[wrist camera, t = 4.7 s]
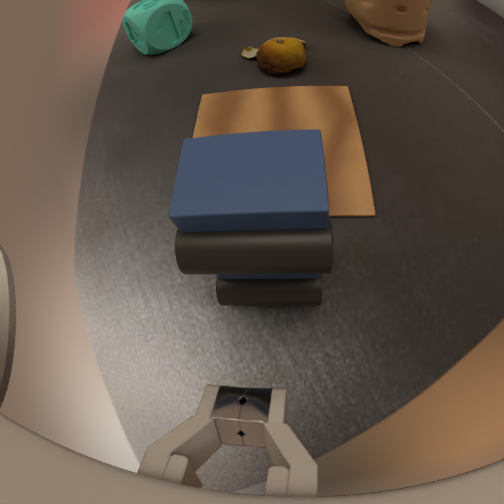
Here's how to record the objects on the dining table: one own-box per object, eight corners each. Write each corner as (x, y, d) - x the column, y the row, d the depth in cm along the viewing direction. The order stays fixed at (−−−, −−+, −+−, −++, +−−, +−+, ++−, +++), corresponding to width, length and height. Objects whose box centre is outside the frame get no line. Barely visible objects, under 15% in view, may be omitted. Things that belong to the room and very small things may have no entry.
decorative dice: (154, 60, 37) (135, 18, 29) (134, 50, 40) (116, 14, 32) (198, 35, 38) (184, -7, 30) (173, 27, 41) (159, -9, 33)
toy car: (228, 312, 22) (157, 251, 11) (233, 231, 24) (182, 123, 13) (318, 312, 21) (338, 248, 10) (316, 228, 23) (323, 112, 12)
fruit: (299, 40, 33) (298, 18, 30) (324, 71, 30) (324, 45, 27) (239, 52, 34) (234, 30, 31) (255, 85, 31) (250, 59, 27)
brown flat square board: (178, 222, 25) (177, 220, 25) (202, 96, 31) (202, 94, 31) (374, 216, 23) (375, 215, 23) (347, 88, 29) (347, 86, 28)
